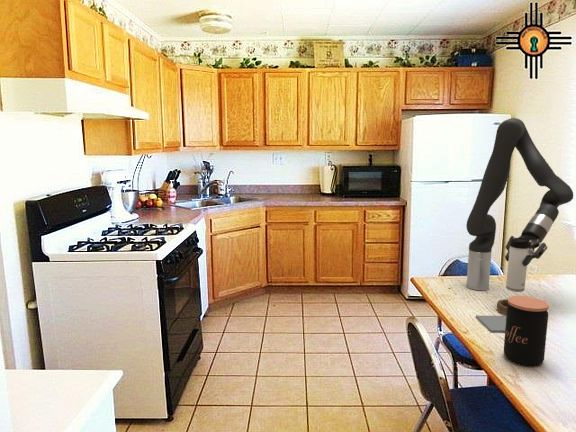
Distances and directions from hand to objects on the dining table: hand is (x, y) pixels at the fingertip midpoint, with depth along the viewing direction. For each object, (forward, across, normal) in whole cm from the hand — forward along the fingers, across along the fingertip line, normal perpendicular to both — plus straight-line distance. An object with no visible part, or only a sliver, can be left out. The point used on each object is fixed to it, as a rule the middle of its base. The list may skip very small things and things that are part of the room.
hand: (515, 262), depth 161 cm
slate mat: (+24, +6, +4) cm, 25 cm away
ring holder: (+13, 0, +15) cm, 20 cm away
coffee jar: (+35, +25, -8) cm, 44 cm away
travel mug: (+7, 0, +9) cm, 11 cm away
